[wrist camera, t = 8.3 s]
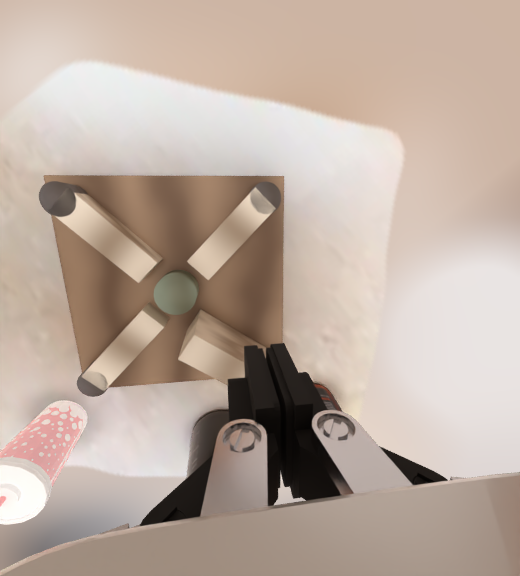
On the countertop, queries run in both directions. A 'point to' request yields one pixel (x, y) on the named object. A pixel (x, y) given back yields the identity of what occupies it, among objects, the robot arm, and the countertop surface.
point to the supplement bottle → (205, 438)
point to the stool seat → (164, 267)
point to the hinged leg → (215, 348)
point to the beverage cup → (37, 460)
